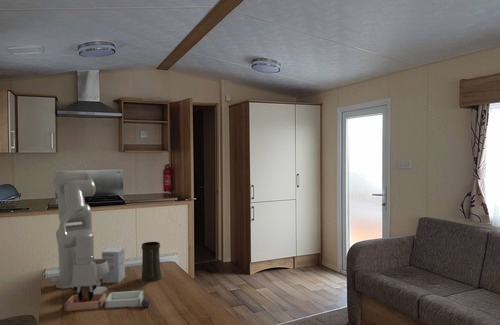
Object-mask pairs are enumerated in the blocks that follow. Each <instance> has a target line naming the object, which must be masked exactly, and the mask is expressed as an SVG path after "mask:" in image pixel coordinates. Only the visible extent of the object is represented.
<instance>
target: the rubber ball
mask: <svg viewBox="0 0 500 325" xmlns="http://www.w3.org/2000/svg"><path fill="white" fill-rule="evenodd" d="M150 304H151V301H150V299H148V298H143V300H142V302H141V306H142V307H143V308H146V307H149V305H150Z"/></svg>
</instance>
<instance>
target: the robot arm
mask: <svg viewBox="0 0 500 325" xmlns="http://www.w3.org/2000/svg"><path fill="white" fill-rule="evenodd" d="M52 185H53V188H54V191H55V193H56V196H57V203H58V204H57V207H58V209H57V210H58V220H59V226H58V228H57V229H56V232H55V237H56V242H57V249H58V251H57V252H58V272H59V274H58V275H59V276H58V277H52V278H51V279H50V281H51V283H56V284H55V285H56V288H57V289H60V290H61V289H62V290H64V289H65V290H66V289H73V290H75V291H76V292H77V295H78V299H79V301H82V294H81V287H85V286H89V288H90V292H89V301H91V300H92V298H93V291H94V289H95V288H96V287H98V286H101V285H102V282H101V279H100V280H99V279H98V274H97V267H96V263H95V262H94V259H95V251H94V250H95V248H94V247H95V246H94V244H95V243H94V242H95V240H94V232H93V224H92V223H93V222H92V221H93V220H92V216H93V215H92V209H91V207H90V205H89V204H88V203H86V200H85V197H93V196H95V194H96V184H95V182H94V180H93V177H91V175H90V174H89V173H88V172H66V173H65V172H64V173H57V174H55V175H54V176H53V178H52ZM71 223H80V224H71ZM67 224H70V225H67ZM96 283H97V284H96ZM95 284H96V285H95Z"/></svg>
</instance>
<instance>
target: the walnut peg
mask: <svg viewBox="0 0 500 325" xmlns="http://www.w3.org/2000/svg"><path fill="white" fill-rule="evenodd" d="M89 292H90V288H89V286H85V287H81V294H82V302H90V301H89Z"/></svg>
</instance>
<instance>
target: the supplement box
mask: <svg viewBox="0 0 500 325" xmlns="http://www.w3.org/2000/svg"><path fill="white" fill-rule="evenodd" d="M101 259H104V260H106V261H107V263H108V266H109V272H108V273H107V275H106V276H104V277H103V278H102V283H104V284H105V283H109V284H110V283H111V284H113V283H115V284H118V283H120V282H122V281H123V279H125V278H126V270H125V269H126V267H125V264H126V263H125V247H107V248H106V249H104V251H102V252H101Z"/></svg>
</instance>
